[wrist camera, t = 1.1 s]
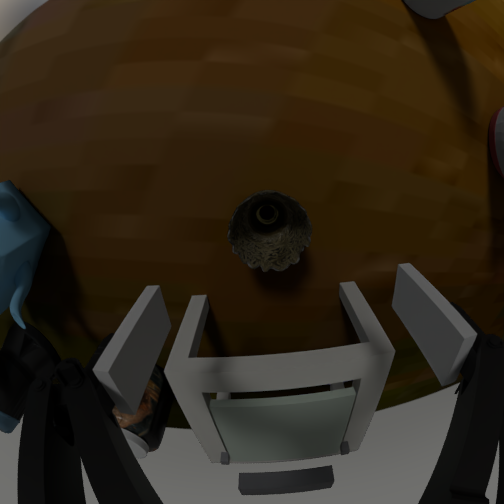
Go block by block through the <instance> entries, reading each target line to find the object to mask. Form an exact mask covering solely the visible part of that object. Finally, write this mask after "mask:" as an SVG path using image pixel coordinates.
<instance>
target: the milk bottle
mask: <svg viewBox="0 0 504 504" xmlns="http://www.w3.org/2000/svg"><path fill="white" fill-rule="evenodd" d="M403 1H404V2H405V3H406V4H407V5H408V6H409V7H410V8H411V9H412V10H413V11H415V12H416V13H417V14H419V15H421V16H423V17H425V18H429V19H438V18H440V17H442V16H444V15H446V14H448V13H450V12H452V11H454V10H456V9H458V8H461V7H463V6H465V5H467V4H469V3H471V2H473V1H475V0H403Z"/></svg>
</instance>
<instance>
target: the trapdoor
mask: <svg viewBox="0 0 504 504" xmlns="http://www.w3.org/2000/svg"><path fill="white" fill-rule="evenodd" d="M355 396H356V393H355V390H354V387H350V388H345V389H339V390H333V391H326V392H319V393H312V394H304V395H295V396H285V397H273V398H257V399H224V400H214V399H211V401H210V410H211V412H212V415H213V417H214V420H215V422H216V425H217V427H218V430H219V432H220V434H221V437H222V439H223V441H224V444H225V446H226V448H227V451H228V453H229V455H230V457H231V459H232V461H272V460H286V459H296V458H305V457H313V456H320V455H326V454H332V453H338V451H339V448H340V445H341V442H342V439H343V436H344V433H345V430H346V427H347V424H348V421H349V417H350V414H351V410H352V407H353V403H354V400H355ZM333 483H334V475H333V469H332V465H330V466H324V467H317V468H310V469H302V470H293V471H281V472H265V473H239V487H238V489H239V490H240V492H241V494H242V495H268V494H285V493H295V492H305V491H313V490H320V489H326V488H331V487H332V484H333Z"/></svg>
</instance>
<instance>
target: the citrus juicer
mask: <svg viewBox="0 0 504 504" xmlns="http://www.w3.org/2000/svg"><path fill="white" fill-rule="evenodd" d="M489 147H490V153H491V157H492V160H493V163H494V165H495V168H496V169H497V171H498V173H499V174H500V175H501V176H502V177H503V178H504V106H503V107H502V108H500V109H499V110H498V111H496V112H495V113H494V115H493V117H492V119H491V122H490V126H489Z"/></svg>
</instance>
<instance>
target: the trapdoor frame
mask: <svg viewBox="0 0 504 504" xmlns="http://www.w3.org/2000/svg"><path fill="white" fill-rule="evenodd" d="M339 297H340V299H341V301H342V303H343V305H344V307H345V309H346V311H347V313H348V315H349V318H350V320H351V322H352V324H353V326H354V328H355V331H356V333H357V335H358V337H359V339H360V342H361V343H359V344H353V345H347V346H341V347H334V348H327V349H319V350H311V351H303V352H293V353H283V354H272V355H258V356H241V357H214V358H196V357H197V353H198V349H199V345H200V341H201V337H202V333H203V329H204V326H205V322H206V318H207V314H208V311H209V304H208V299H207V295H198V296H192V298H191V300H190V303H189V305H188V308H187V310H186V313H185V316H184V318H183V321H182V324H181V326H180V329H179V332H178V334H177V337H176V340H175V342H174V345H173V348H172V350H171V353H170V356H169V359H168V361H167V364H166V367H165V370H164V373H165V375H166V377H167V380H168V382H169V384H170V386H171V388H172V390H173V393H174V395H175V397H176V399H177V401H178V403H179V405H180V407H181V409H182V411H183V413H184V415H185V417H186V419H187V420H188V422H189V424H190V426H191V428H192V430H193V431H194V433H195V435H196V437H197V439H198V440H199V442H200V444H201V446H202V447H203V449H204V451H205V452H206V454H207V456H208V457H209V459H210V461H211V462H212V463H221V464H226V465H228V464H229V463H270V462H284V461H294V460H304V459H312V458H319V457H326V456H332V455H337V454H341V455H344V454H348V453H349V452H352V451H356V450H358V449H359V447H360V444H361V442H362V440H363V438H364V436H365V434H366V431H367V429H368V427H369V424H370V422H371V420H372V417H373V415H374V412H375V410H376V407H377V405H378V402H379V399H380V396H381V394H382V391H383V388H384V385H385V382H386V379H387V376H388V373H389V370H390V367H391V364H392V360H393V357H394V354H395V350H394V348H393V346H392V344H391V343H390V341H389V339H388V337H387V335H386V334H385V332H384V330H383V329H382V327H381V325H380V323H379V322H378V320H377V318H376V317H375V315H374V313H373V312H372V310H371V308H370V307H369V305H368V303H367V302H366V300H365V298H364V297H363V295H362V293H361V292H360V290H359V289H358V287H357V285H356V284H355V282H354V281H353V282H345V283H340V290H339ZM350 380H353V383H352V387H354V390H355V393H356V396H355V400H354V403H353V407H352V410H351V414H350V417H349V421H348V424H347V427H346V430H345V433H344V436H343V439H342V442H341V445H340V448H339V451H338V453H332V454H326V455H320V456H313V457H305V458H296V459H286V460H272V461H232V459H231V457H230V455H229V453H228V451H227V448H226V446H225V444H224V441H223V439H222V437H221V434H220V432H219V430H218V427H217V425H216V422H215V420H214V417H213V415H212V412H211V410H210V401H211V396H210V393H209V392H217V399H216V400H224V399H231V394H230V392H254V391H270V390H282V389H293V388H302V387H310V386H318V385H325V384H330V390H331V391H333V390H339V389H345V388H344V384H343V382H344V381H350Z"/></svg>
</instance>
